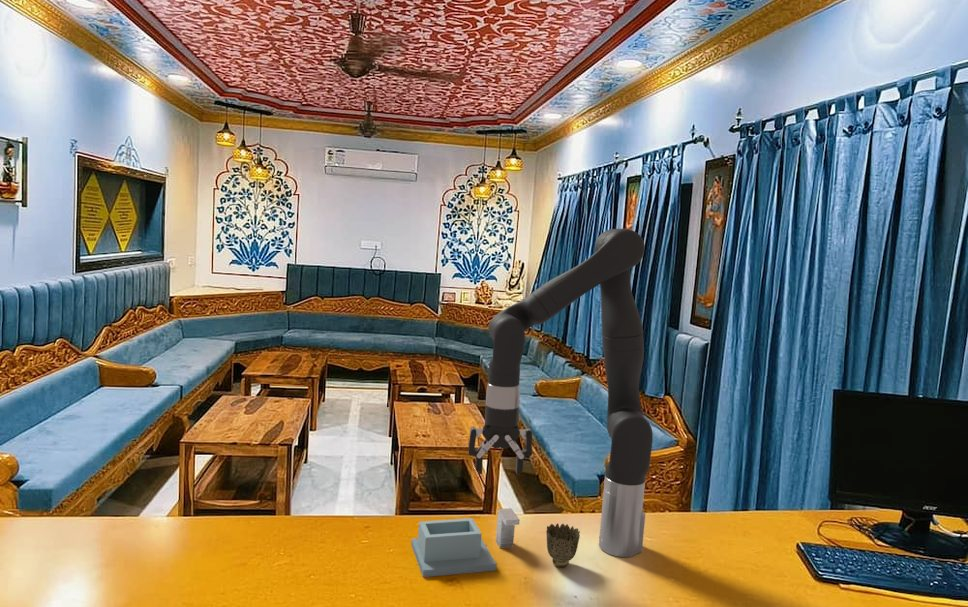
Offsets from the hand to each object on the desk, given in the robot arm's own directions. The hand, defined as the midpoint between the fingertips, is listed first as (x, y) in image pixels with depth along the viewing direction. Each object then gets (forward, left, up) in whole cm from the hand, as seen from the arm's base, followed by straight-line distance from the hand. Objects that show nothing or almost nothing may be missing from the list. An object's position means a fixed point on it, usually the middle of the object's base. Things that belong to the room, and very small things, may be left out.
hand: (498, 473), depth 146 cm
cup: (-13, +9, -18) cm, 24 cm away
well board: (+10, +2, -18) cm, 21 cm away
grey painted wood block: (-3, -1, -18) cm, 19 cm away
